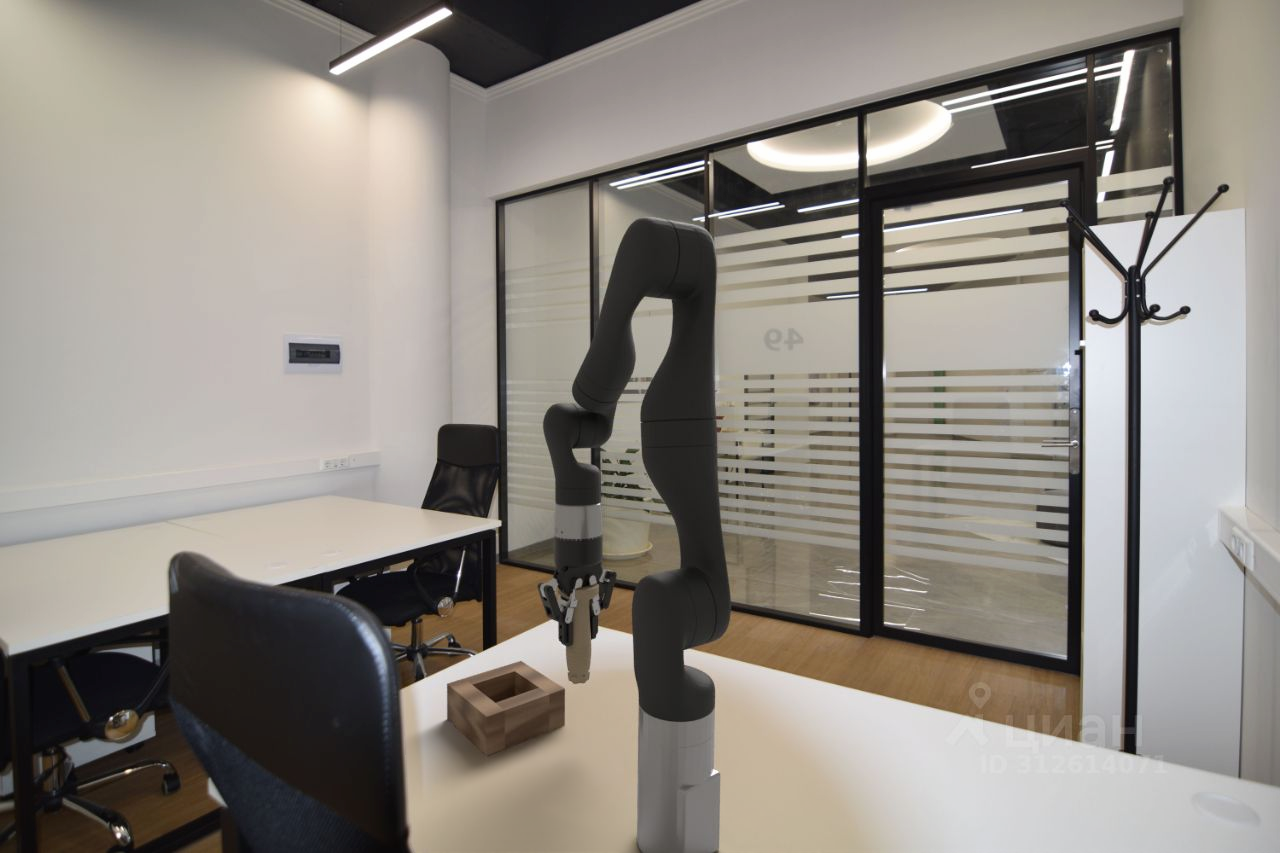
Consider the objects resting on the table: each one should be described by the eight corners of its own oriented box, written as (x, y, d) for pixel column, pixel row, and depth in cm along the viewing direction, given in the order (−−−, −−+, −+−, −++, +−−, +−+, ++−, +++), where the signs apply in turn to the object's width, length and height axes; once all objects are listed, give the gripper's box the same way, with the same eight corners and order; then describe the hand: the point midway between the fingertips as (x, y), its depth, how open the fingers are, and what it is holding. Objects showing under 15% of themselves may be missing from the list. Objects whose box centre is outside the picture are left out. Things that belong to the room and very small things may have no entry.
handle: (590, 690, 94) (589, 591, 94) (553, 683, 97) (552, 587, 96) (604, 677, 99) (603, 583, 98) (568, 671, 101) (567, 579, 101)
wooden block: (564, 724, 103) (564, 688, 103) (486, 755, 94) (486, 716, 93) (521, 693, 113) (521, 660, 113) (447, 718, 104) (447, 683, 104)
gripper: (552, 542, 89) (553, 661, 90) (628, 529, 99) (629, 637, 99) (525, 534, 95) (526, 646, 96) (600, 522, 104) (600, 624, 105)
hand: (578, 640), depth 98 cm, fingers closed on handle, 4 cm apart
